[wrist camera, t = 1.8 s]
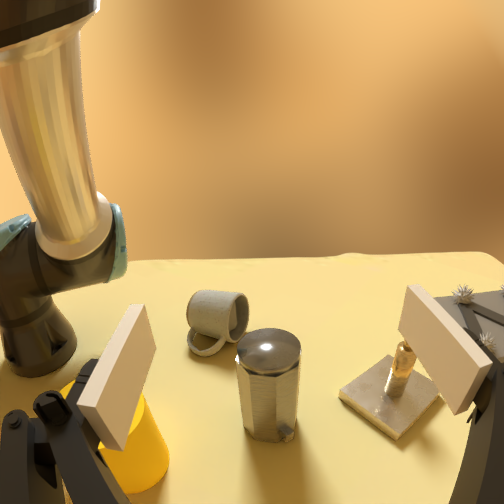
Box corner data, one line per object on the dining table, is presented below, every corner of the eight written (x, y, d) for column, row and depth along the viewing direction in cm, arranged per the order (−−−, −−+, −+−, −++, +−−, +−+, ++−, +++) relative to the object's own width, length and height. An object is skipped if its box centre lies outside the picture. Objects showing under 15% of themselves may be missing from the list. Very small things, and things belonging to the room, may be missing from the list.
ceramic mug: (209, 316, 53) (203, 278, 50) (251, 324, 50) (248, 285, 47) (176, 351, 44) (166, 311, 41) (223, 365, 41) (216, 323, 38)
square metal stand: (338, 397, 34) (349, 336, 30) (386, 362, 39) (400, 303, 35) (396, 441, 26) (424, 383, 22) (439, 395, 31) (464, 335, 27)
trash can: (232, 412, 33) (221, 337, 28) (272, 393, 36) (271, 317, 31) (267, 455, 27) (265, 383, 22) (310, 430, 30) (320, 355, 25)
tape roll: (156, 504, 20) (121, 463, 17) (76, 477, 22) (33, 429, 18) (178, 433, 30) (158, 380, 26) (106, 418, 31) (78, 365, 27)
